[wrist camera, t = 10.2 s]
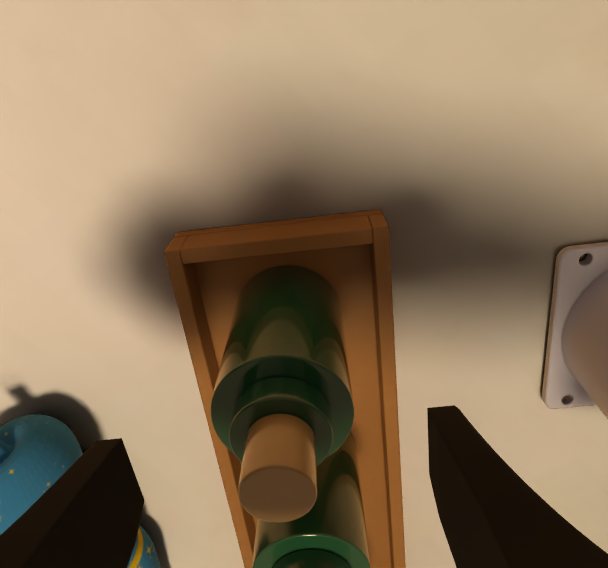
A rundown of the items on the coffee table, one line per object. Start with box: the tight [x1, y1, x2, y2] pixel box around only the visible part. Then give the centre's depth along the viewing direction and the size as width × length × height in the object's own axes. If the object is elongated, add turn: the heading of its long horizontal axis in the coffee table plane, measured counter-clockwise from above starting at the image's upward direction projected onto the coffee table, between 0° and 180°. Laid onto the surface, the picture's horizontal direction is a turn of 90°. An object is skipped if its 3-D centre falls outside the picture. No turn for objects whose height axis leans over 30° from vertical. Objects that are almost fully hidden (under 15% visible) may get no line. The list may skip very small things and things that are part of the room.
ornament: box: [0, 415, 161, 568], centre depth 25 cm, size 5×5×15 cm
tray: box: [164, 210, 405, 568], centre depth 24 cm, size 8×23×2 cm, turn 7°
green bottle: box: [210, 265, 354, 523], centre depth 17 cm, size 4×4×10 cm
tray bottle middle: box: [252, 431, 371, 568], centre depth 20 cm, size 4×4×10 cm
